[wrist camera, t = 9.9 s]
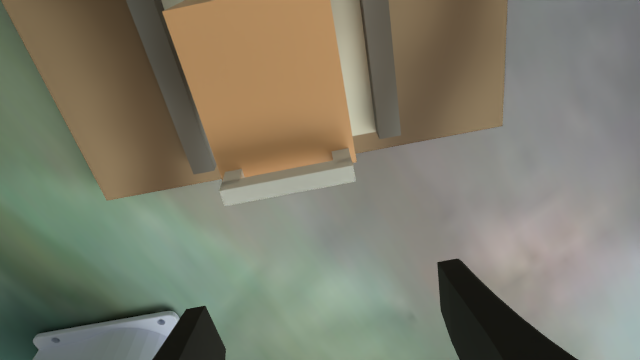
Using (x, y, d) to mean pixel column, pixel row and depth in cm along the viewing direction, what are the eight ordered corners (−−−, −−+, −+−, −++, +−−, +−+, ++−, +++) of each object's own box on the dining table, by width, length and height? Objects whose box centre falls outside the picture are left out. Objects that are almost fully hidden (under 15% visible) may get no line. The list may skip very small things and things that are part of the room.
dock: (115, 188, 22) (98, 211, 20) (-16, -72, 16) (-58, -74, 14) (492, 117, 21) (511, 134, 19) (500, -187, 15) (529, -206, 13)
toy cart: (342, 110, 19) (361, 180, 13) (241, 130, 19) (218, 207, 14) (317, -32, 16) (329, -21, 10) (198, -7, 16) (148, 18, 11)
